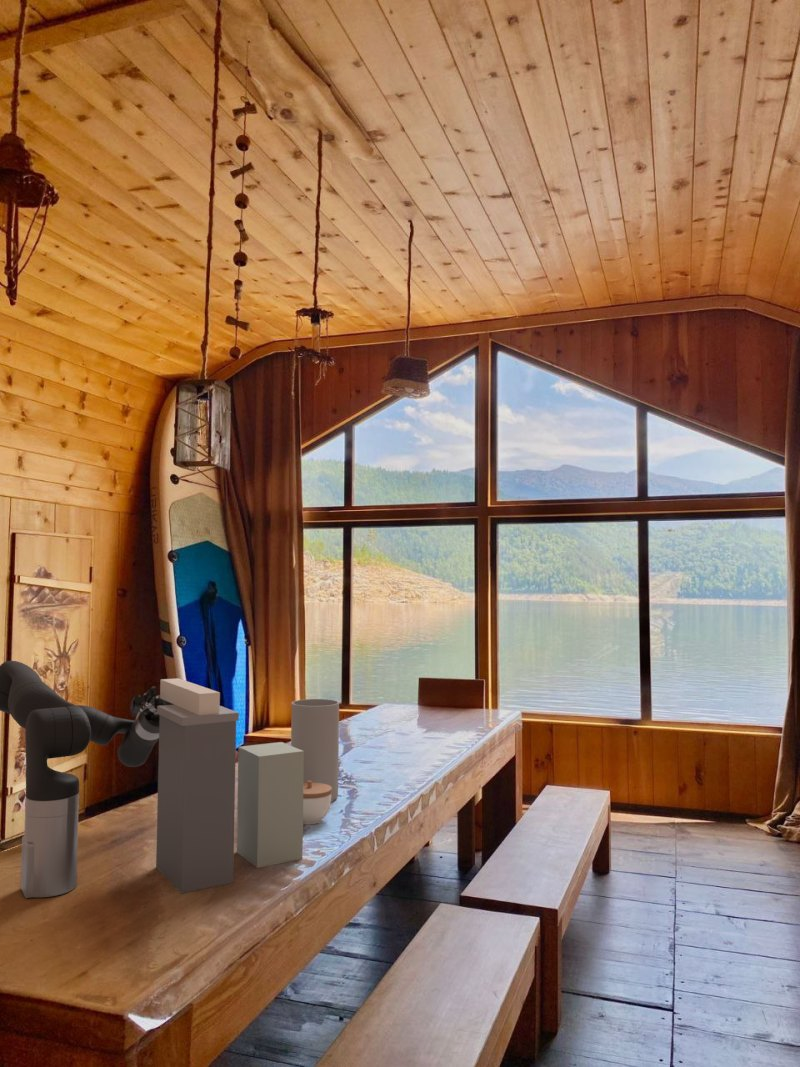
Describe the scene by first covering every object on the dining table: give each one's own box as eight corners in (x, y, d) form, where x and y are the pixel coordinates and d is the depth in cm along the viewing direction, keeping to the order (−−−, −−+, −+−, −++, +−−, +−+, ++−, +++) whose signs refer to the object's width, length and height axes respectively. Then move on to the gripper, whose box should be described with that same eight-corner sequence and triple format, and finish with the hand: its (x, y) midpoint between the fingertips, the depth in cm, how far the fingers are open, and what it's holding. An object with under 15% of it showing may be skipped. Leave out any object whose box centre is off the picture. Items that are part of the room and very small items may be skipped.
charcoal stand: (178, 893, 149) (182, 717, 151) (153, 867, 163) (157, 705, 164) (235, 882, 155) (238, 712, 157) (206, 857, 168) (209, 701, 170)
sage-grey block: (257, 867, 163) (259, 756, 164) (236, 852, 172) (238, 746, 173) (302, 858, 168) (303, 751, 169) (280, 843, 177) (281, 741, 179)
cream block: (199, 715, 154) (199, 693, 154) (160, 698, 175) (160, 679, 175) (219, 713, 156) (219, 692, 156) (178, 696, 177) (178, 678, 177)
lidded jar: (337, 816, 198) (338, 777, 199) (321, 829, 188) (322, 788, 188) (297, 812, 201) (297, 774, 202) (279, 825, 191) (279, 784, 191)
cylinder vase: (285, 794, 218) (287, 700, 219) (330, 790, 222) (331, 698, 224) (296, 806, 206) (297, 707, 208) (343, 802, 211) (344, 704, 212)
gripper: (120, 705, 182) (138, 674, 170) (183, 700, 189) (204, 671, 178) (124, 737, 178) (143, 708, 167) (188, 731, 186) (210, 703, 175)
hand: (174, 689), depth 172 cm, fingers open, 8 cm apart
